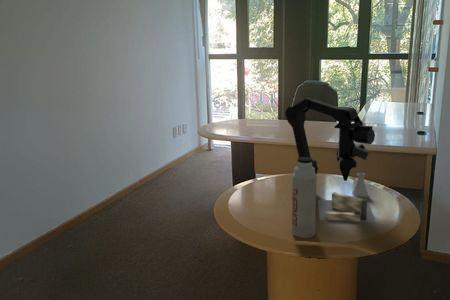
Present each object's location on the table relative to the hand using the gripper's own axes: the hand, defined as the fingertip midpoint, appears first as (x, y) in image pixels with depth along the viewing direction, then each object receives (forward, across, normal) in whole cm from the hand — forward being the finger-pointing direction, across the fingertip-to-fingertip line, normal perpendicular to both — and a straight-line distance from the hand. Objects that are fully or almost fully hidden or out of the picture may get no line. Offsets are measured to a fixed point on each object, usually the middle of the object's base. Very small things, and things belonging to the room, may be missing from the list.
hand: (344, 177), depth 162 cm
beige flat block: (+11, -8, 0) cm, 14 cm away
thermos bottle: (+12, -28, +16) cm, 35 cm away
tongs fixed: (+11, -15, +1) cm, 18 cm away
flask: (+12, +12, -8) cm, 19 cm away
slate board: (+12, -7, 0) cm, 14 cm away
